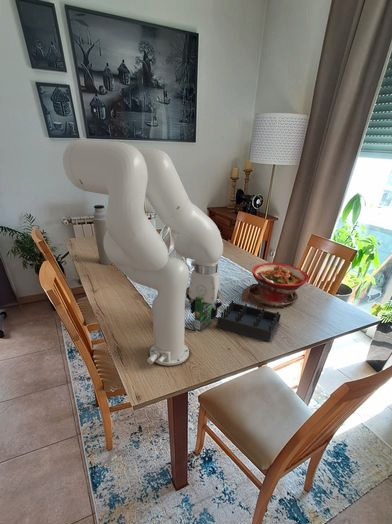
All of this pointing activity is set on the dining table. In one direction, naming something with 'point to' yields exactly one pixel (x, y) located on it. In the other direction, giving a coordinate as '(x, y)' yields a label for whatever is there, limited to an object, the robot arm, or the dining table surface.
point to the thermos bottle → (100, 232)
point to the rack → (249, 321)
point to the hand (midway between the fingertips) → (203, 314)
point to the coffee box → (202, 313)
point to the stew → (274, 285)
